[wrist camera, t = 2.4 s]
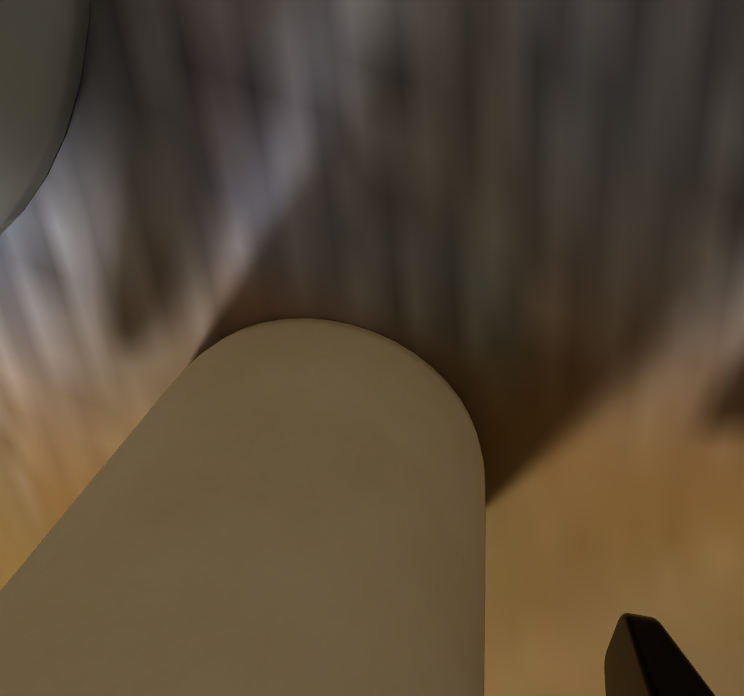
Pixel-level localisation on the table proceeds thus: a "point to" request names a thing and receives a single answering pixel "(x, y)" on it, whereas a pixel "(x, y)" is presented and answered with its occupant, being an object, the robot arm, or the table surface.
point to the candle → (269, 535)
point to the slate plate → (36, 91)
